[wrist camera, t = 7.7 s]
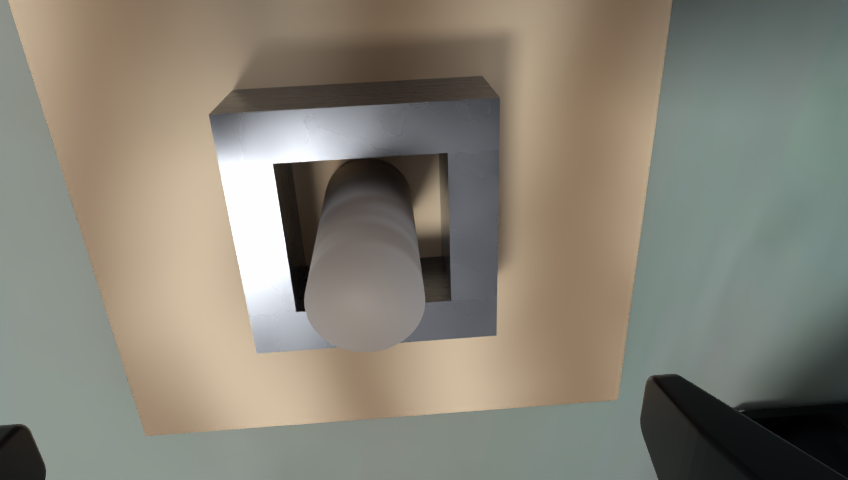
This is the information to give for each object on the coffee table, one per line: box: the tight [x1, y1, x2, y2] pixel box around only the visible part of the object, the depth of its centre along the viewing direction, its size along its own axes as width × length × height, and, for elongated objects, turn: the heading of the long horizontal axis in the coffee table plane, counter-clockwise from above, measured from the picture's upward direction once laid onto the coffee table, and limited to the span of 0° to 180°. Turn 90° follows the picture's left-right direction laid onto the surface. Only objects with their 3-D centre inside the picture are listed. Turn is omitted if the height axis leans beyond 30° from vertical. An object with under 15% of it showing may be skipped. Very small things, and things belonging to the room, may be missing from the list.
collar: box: [209, 76, 500, 354], centre depth 16 cm, size 6×6×2 cm
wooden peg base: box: [8, 0, 673, 436], centre depth 15 cm, size 16×16×6 cm
